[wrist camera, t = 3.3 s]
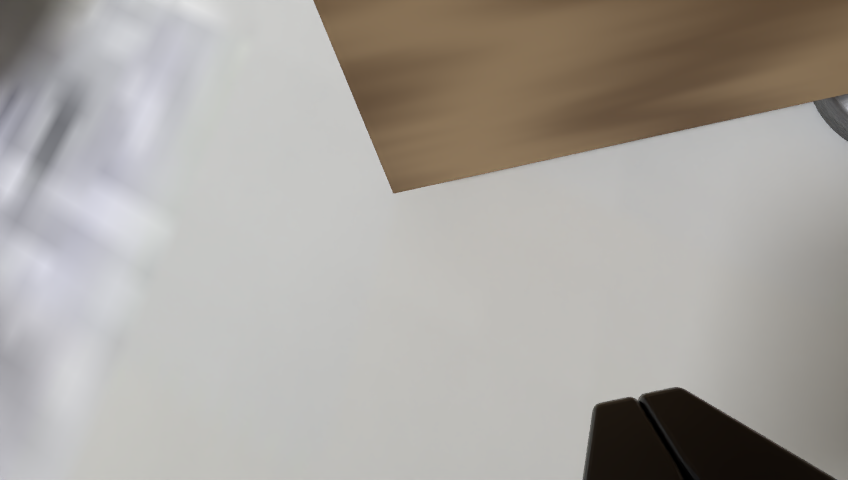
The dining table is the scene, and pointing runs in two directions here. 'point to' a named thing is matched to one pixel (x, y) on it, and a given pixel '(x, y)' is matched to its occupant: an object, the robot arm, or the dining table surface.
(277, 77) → the dining table surface
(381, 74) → the gate panel
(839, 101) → the gate pivot base
